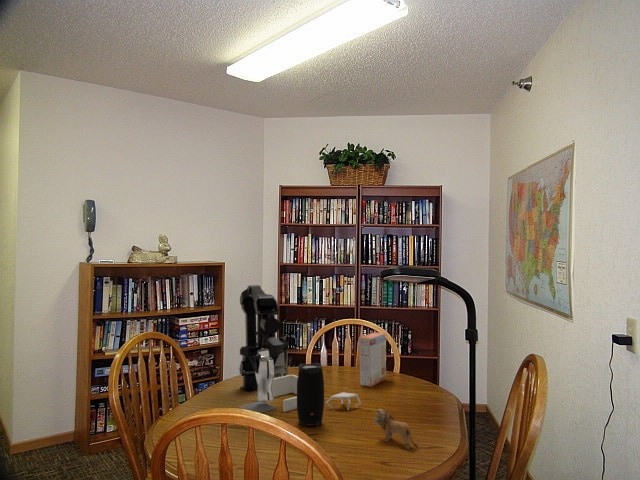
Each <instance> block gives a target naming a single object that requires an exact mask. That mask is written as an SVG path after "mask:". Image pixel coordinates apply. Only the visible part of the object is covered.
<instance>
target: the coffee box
mask: <svg viewBox="0 0 640 480" xmlns="http://www.w3.org/2000/svg"><path fill="white" fill-rule="evenodd" d="M286 342H287V341H286ZM287 343H288V342H287ZM288 344H289V343H288ZM288 350H289V349H288ZM288 350H284V352H283V353H281V354H280V355H279V356H278V358H277V361H276V364H275V367H274V378H278V377H283V376H287V375H289V374H288V373H289V372H288V362H289V358H288V355H289V353H288ZM282 351H283V350H282Z"/></svg>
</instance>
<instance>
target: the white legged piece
mask: <svg viewBox="0 0 640 480" xmlns="http://www.w3.org/2000/svg"><path fill="white" fill-rule="evenodd" d="M352 398H355V399H356V400H357V401H358V403H357V404H356V405H355V408H356V409H358V406H359V405H361V404H362V402H361V399H360V398H359V394H358V393H350V392H345V391H344V392H343V391H342V392H339V393H336V394H334V395H331V396H330V397H329V398H328V399H327V401H326V402H325V404H326V405H328V406H329V407H330V408H329V409H333V406H332V405H331V404H329V402H331V400H333V399H340V400H341V403H340V404H341V405H342V406H343V405H344V400H345V399H347V401H348V402H347V403H348V404H347V407H346V408H347V409H346V410H347V411H349V410H350V408H349V407H350V405H351V403H352V402H351V400H350V399H352Z"/></svg>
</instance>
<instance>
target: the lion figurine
mask: <svg viewBox="0 0 640 480" xmlns="http://www.w3.org/2000/svg"><path fill="white" fill-rule="evenodd" d="M373 420H374V422H375V424H377V425H378V426H379V427H380V428H381V429H382V430H384V435H385V438H384V440H383V441H384V442H389V440H391V439H392V438H393V434H397V435H398V434H399V435H400V436H401V439H402V440H403V443H404V445H406V446H405V450H410V449H411V444H410V442H411V443H412V445H413V446H414V448H417V449H418V448H419V445H417V444H415V442H414V440H413V437H412V433H411V432H412V431H411V430H410V429H411V428H410V426H409V424H408V423H406V422H404V421H397V420H396V419H395V417H394V416H393V415H392V414H391V413H389V412H388V411H387V410H385V409H383V408H378V409H376V410H375V416H374V417H373Z"/></svg>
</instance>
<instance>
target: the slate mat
mask: <svg viewBox="0 0 640 480" xmlns="http://www.w3.org/2000/svg"><path fill="white" fill-rule="evenodd" d="M241 407H244V408H243V409H248V410H252V411H257V412H261V413H260V414H264V413H266V412H270V411H273V410H277V407H276V406H274V405H270V404H268V403H267V402H261V401H258V400H257V401H255V402H251V403H247V404H244V405H239V406H237V409H238V408H241Z"/></svg>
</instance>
